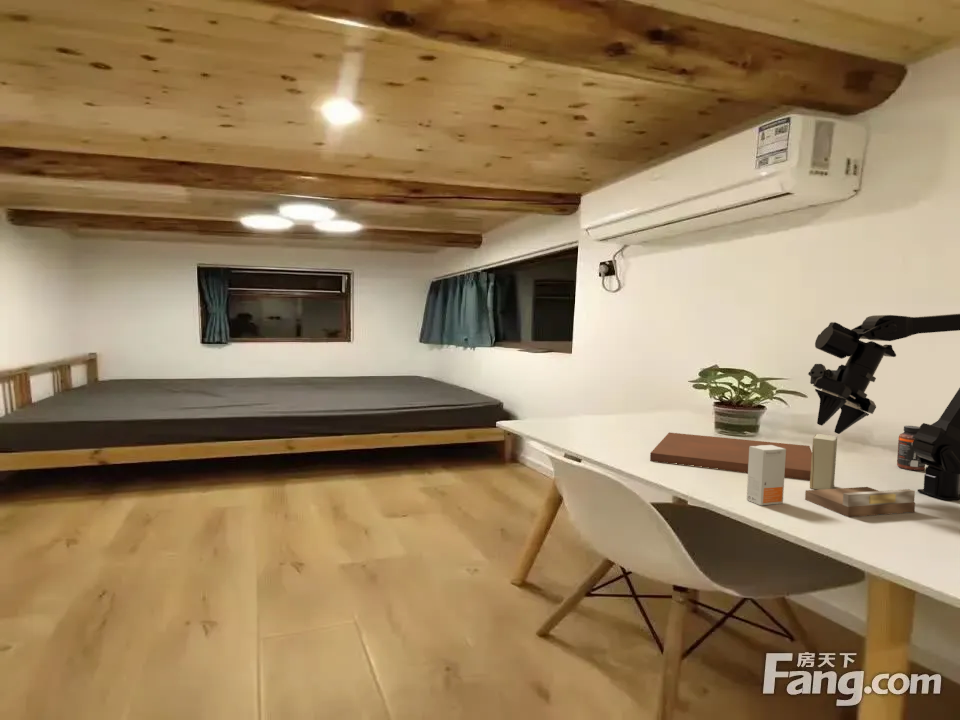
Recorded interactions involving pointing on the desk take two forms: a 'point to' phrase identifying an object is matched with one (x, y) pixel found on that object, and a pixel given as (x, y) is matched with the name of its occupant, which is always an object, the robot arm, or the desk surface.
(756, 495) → the skincare box
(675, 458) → the brown wooden cutting board
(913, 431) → the supplement bottle
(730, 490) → the desk surface
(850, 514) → the brown flat block
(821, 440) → the skincare box
